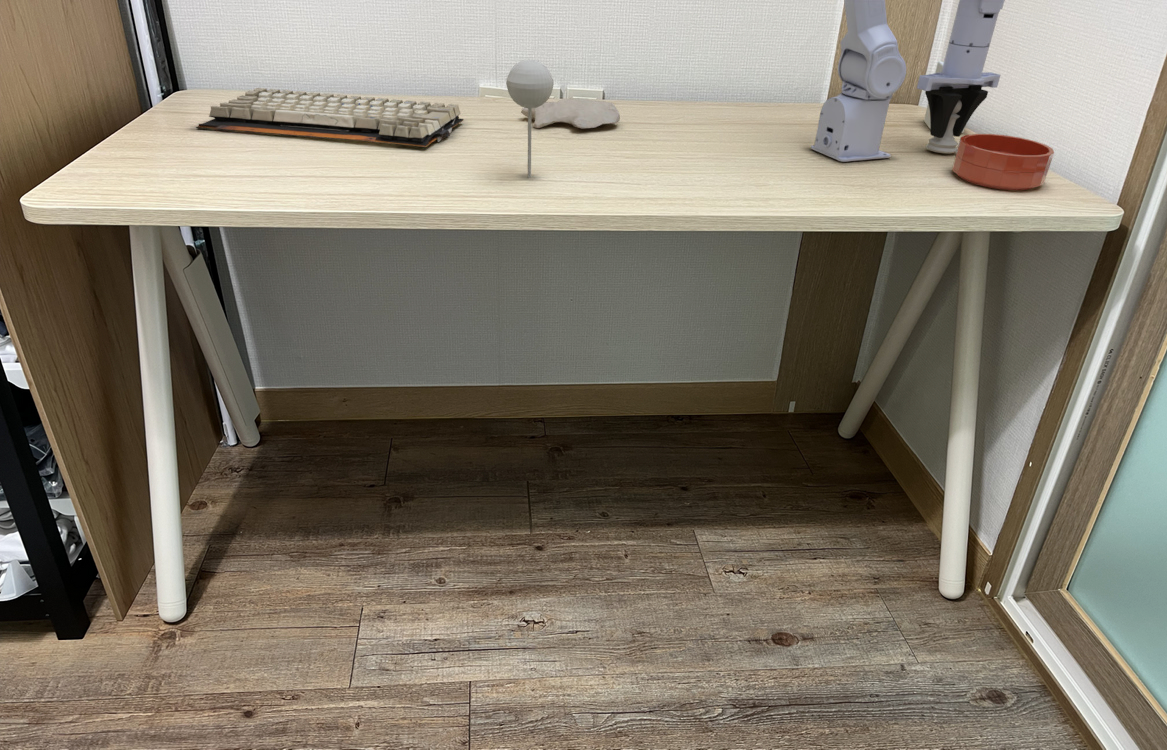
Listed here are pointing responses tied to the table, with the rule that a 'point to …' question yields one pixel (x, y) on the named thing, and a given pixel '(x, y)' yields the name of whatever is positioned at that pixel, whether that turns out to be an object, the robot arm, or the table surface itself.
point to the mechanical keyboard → (335, 117)
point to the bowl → (1002, 161)
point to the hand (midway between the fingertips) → (944, 135)
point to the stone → (575, 113)
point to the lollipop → (529, 90)
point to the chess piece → (946, 136)
